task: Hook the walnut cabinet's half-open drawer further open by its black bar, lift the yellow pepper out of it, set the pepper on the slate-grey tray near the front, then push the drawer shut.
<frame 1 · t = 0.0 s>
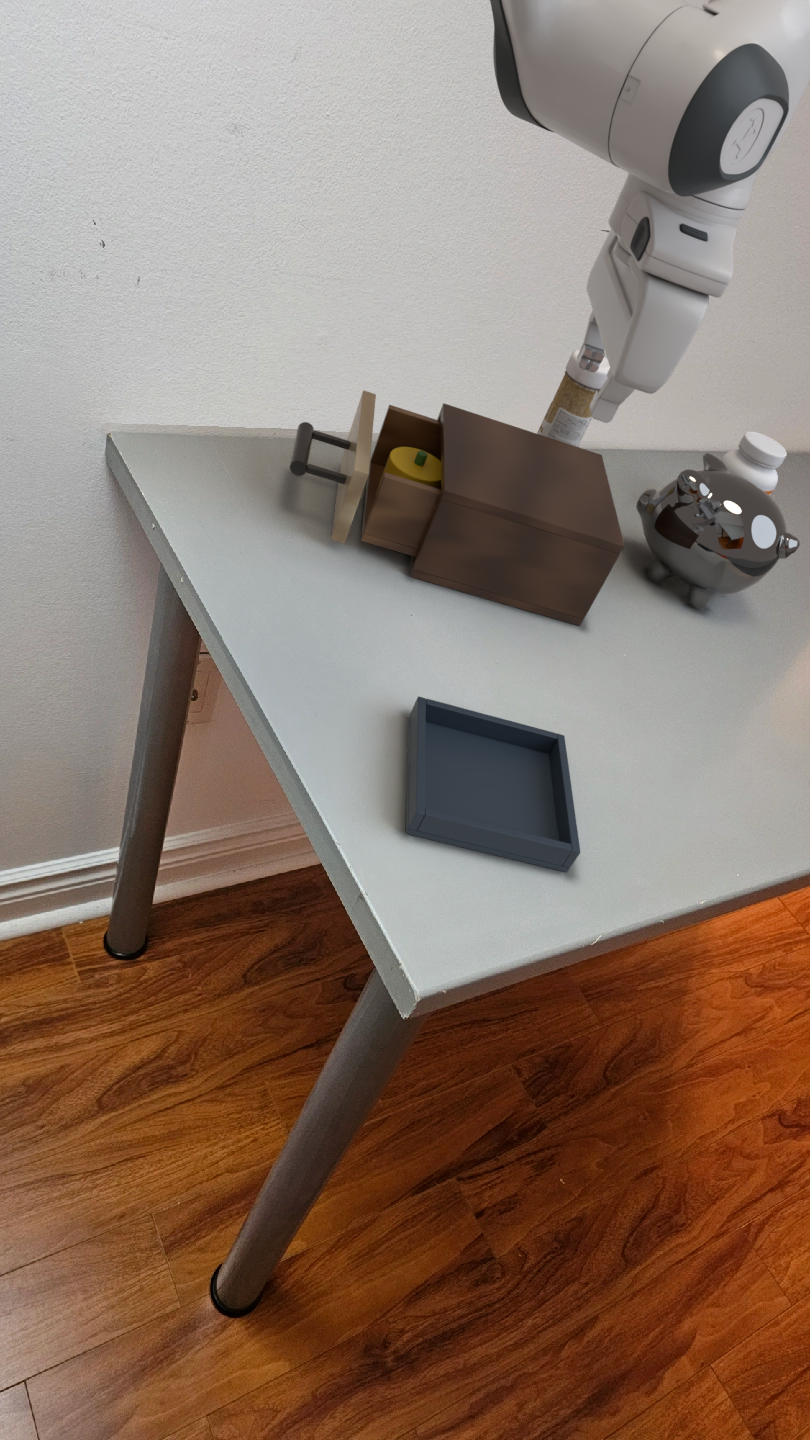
hand: (591, 391, 87), 16 cm above the table, tool pointing down, fingers open, 8 cm apart
cabinet: (492, 552, 96), on the table
drawer: (401, 479, 91), point 4 cm above the table, slide at 6.0 cm, touching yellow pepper
piggy bank: (679, 582, 104), on the table
tray: (484, 791, 72), on the table
sprinkles bottle: (538, 480, 110), on the table
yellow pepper: (403, 504, 93), point 2 cm above the table, touching drawer
pill bottle: (710, 534, 114), on the table
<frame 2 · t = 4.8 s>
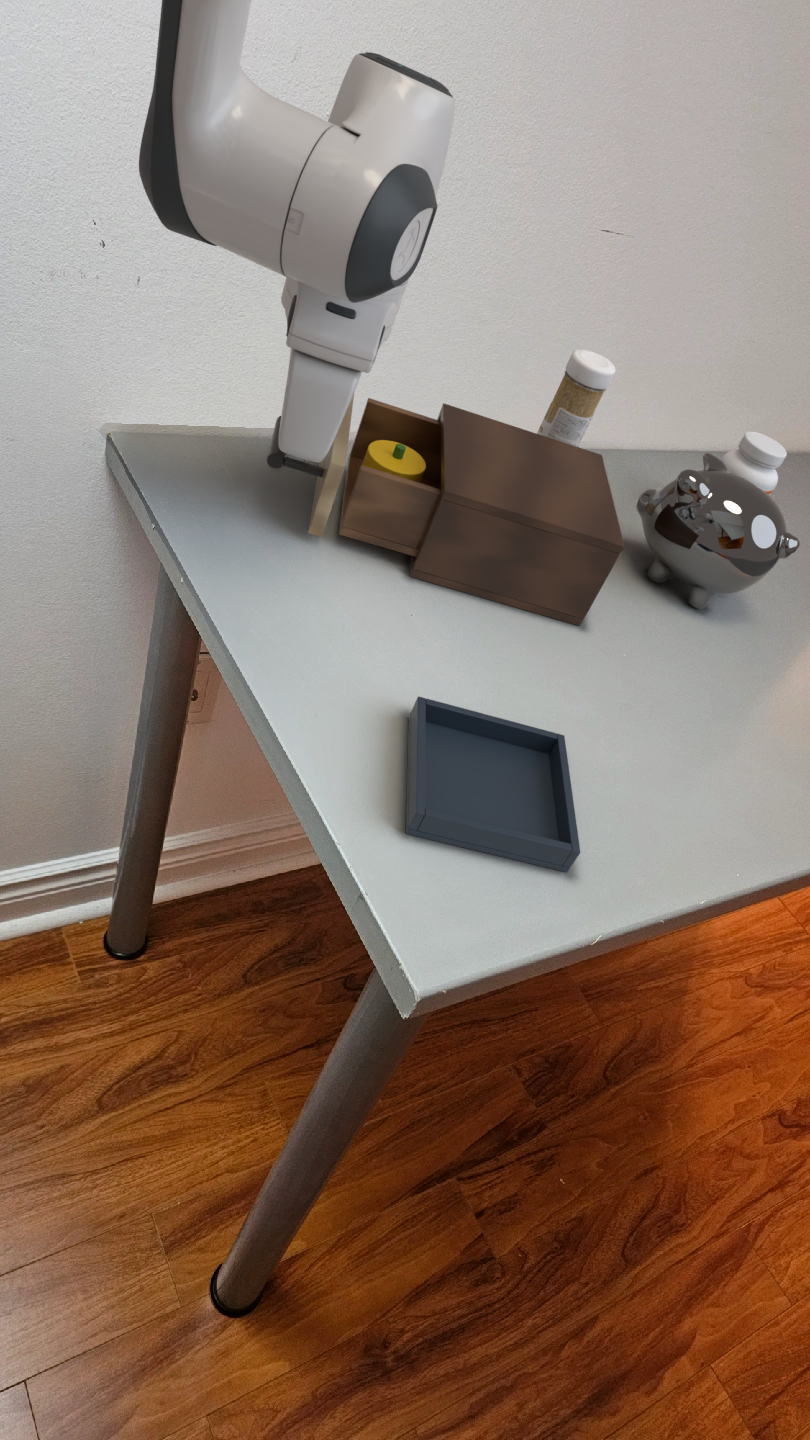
hand: (296, 452, 90), 4 cm above the table, tool pointing down, fingers closed, pressing on drawer
drawer: (380, 472, 91), point 4 cm above the table, slide at 7.9 cm, touching gripper, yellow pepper
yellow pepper: (382, 498, 92), point 2 cm above the table, touching drawer
everything else where it was.
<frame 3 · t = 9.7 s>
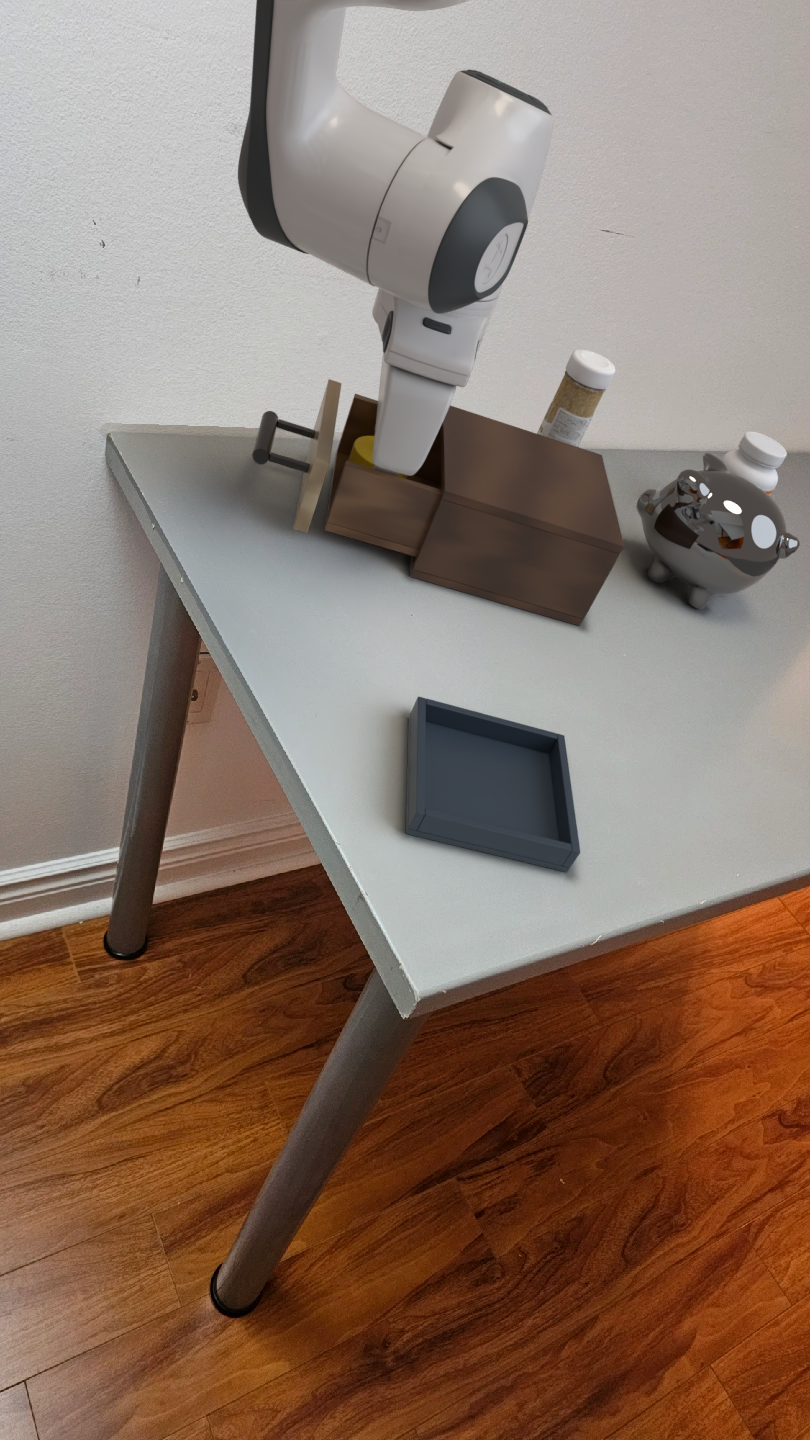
hand: (380, 463, 90), 5 cm above the table, tool pointing down, fingers open, 7 cm apart
drawer: (366, 468, 91), point 4 cm above the table, slide at 9.2 cm, touching gripper, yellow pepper
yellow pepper: (368, 493, 92), point 2 cm above the table, touching drawer
everything else where it was.
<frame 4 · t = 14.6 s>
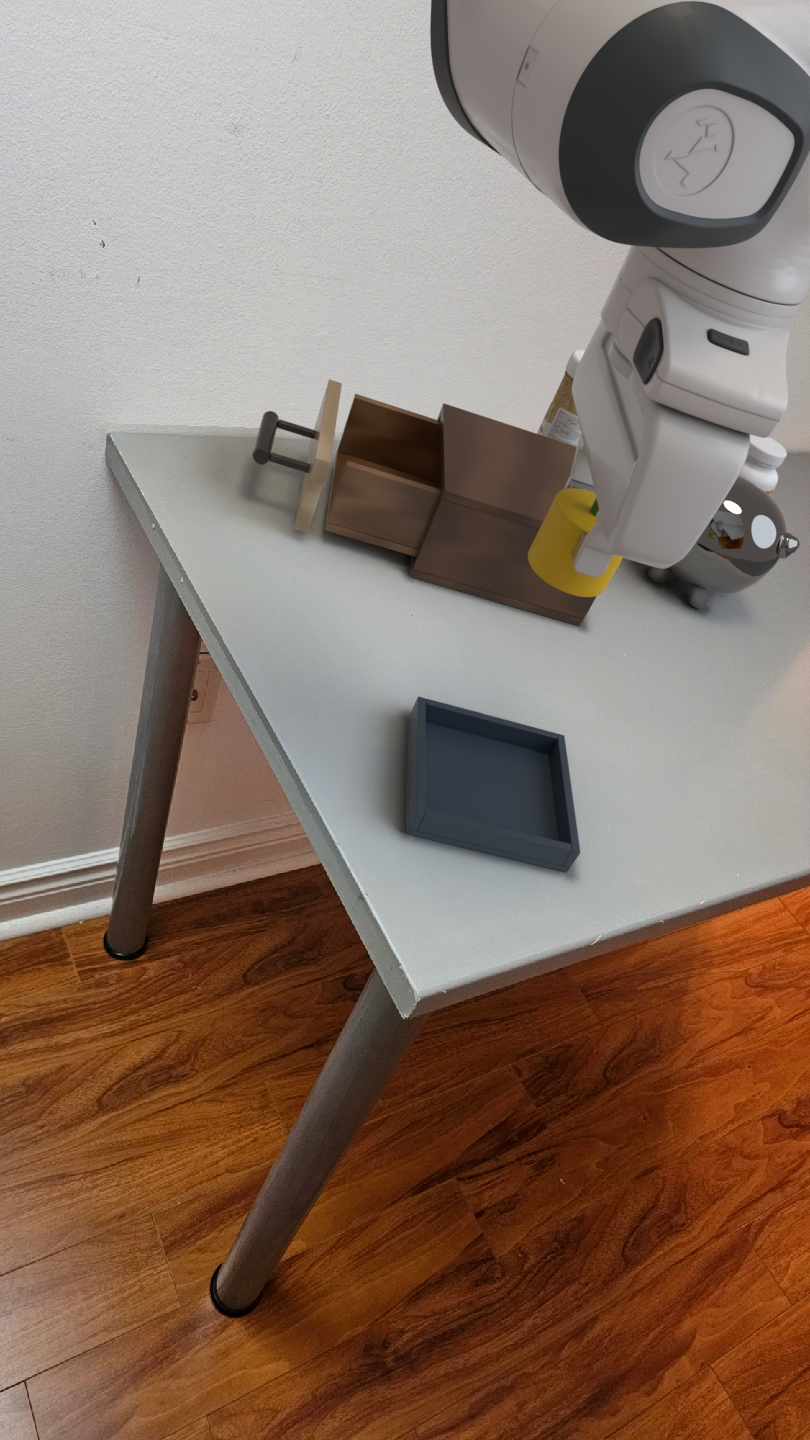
hand: (578, 537, 63), 19 cm above the table, tool pointing down, fingers closed on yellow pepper, 5 cm apart
drawer: (367, 468, 91), point 4 cm above the table, slide at 9.1 cm
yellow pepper: (566, 570, 64), point 16 cm above the table, touching gripper
everything else where it was.
when the fingers open (3 cm above the table, at t = 18.9 s): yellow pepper stays where it is, resting on tray.
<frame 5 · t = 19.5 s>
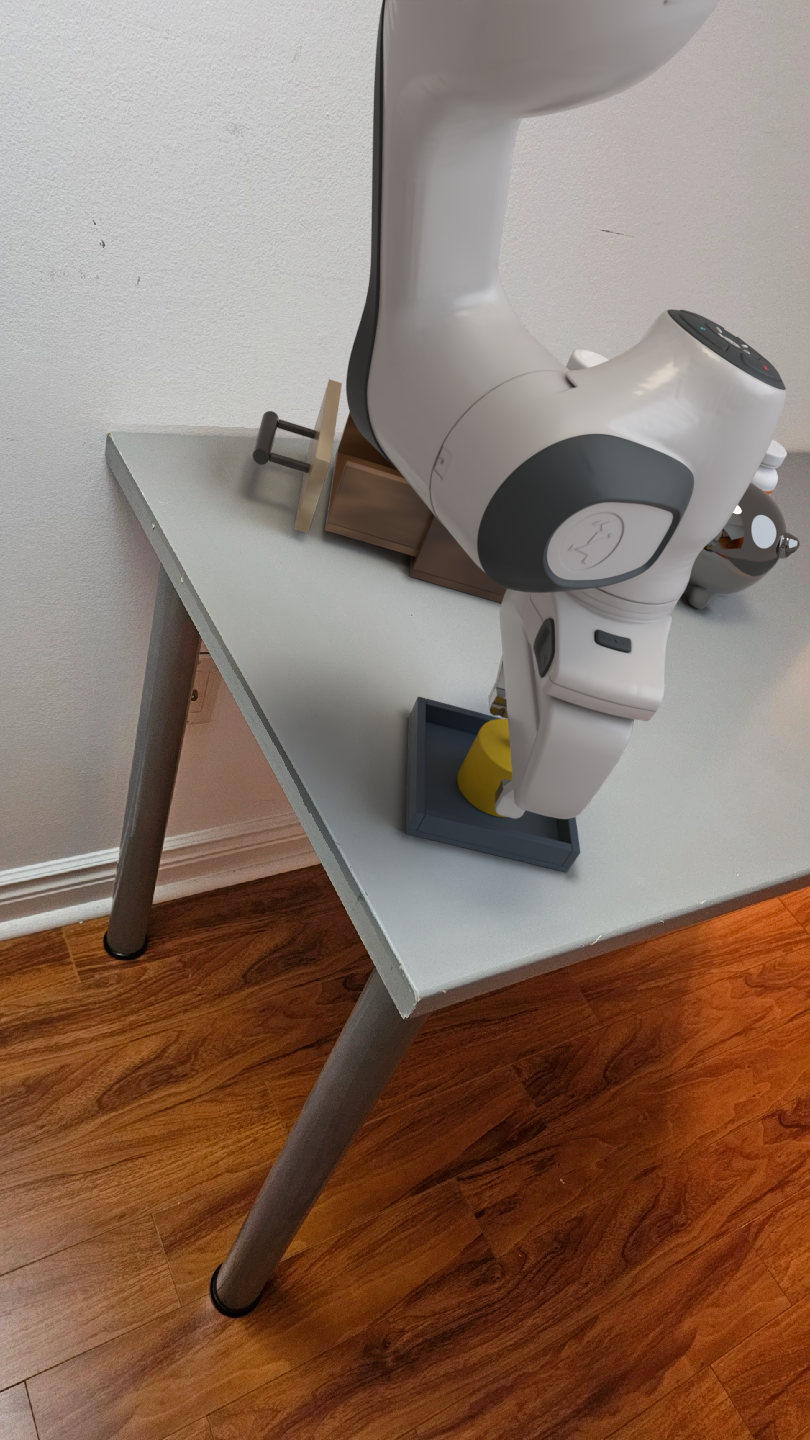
hand: (502, 756, 70), 3 cm above the table, tool pointing down, fingers open, 8 cm apart
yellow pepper: (492, 788, 72), resting on tray
everything else where it was.
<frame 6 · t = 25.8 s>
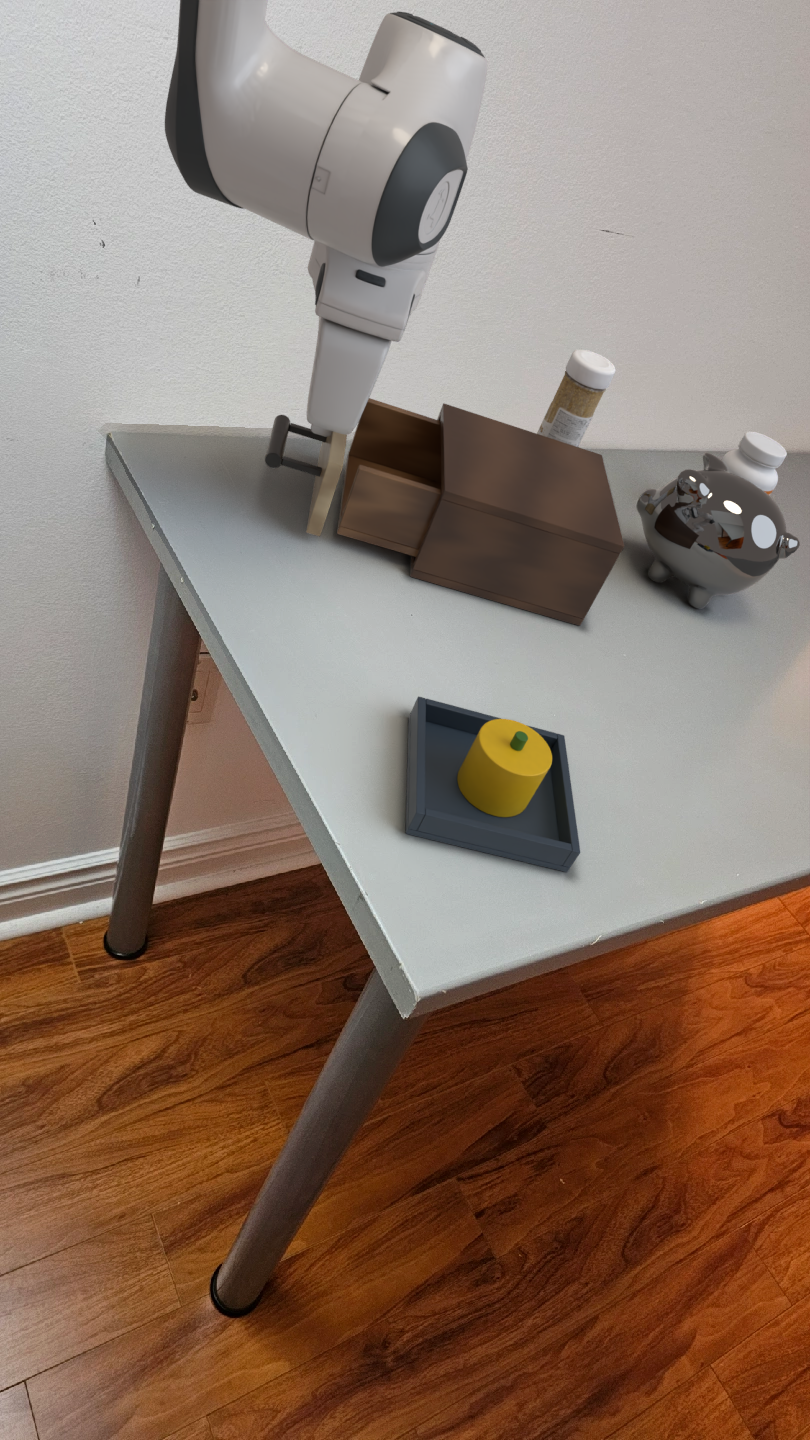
hand: (321, 427, 88), 7 cm above the table, tool pointing down, fingers closed, pressing on drawer
drawer: (378, 471, 91), point 4 cm above the table, slide at 8.1 cm, touching gripper
everything else where it was.
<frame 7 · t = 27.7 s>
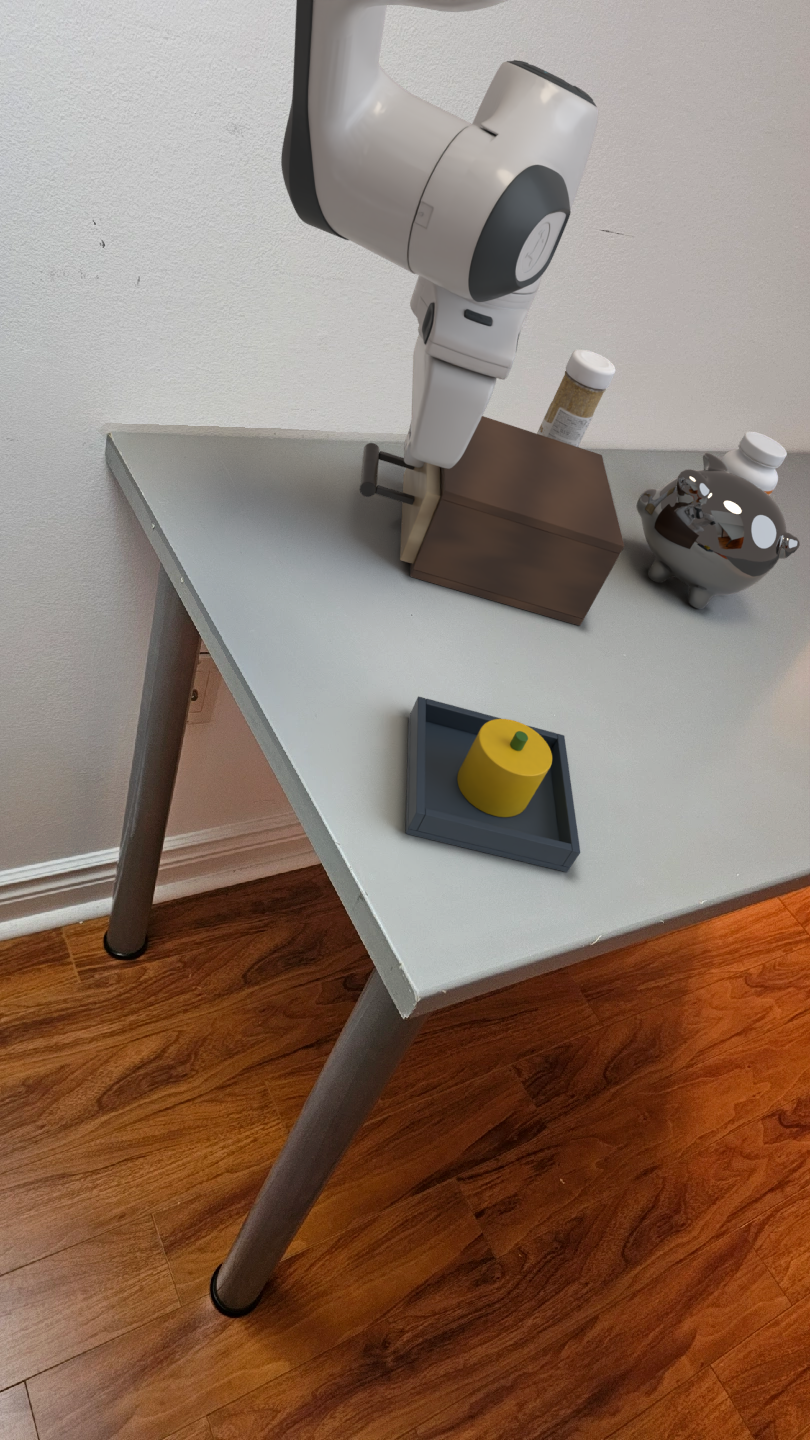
hand: (412, 457, 90), 6 cm above the table, tool pointing down, fingers closed, pressing on drawer
drawer: (467, 499, 92), point 4 cm above the table, slide at 0.0 cm, touching cabinet, gripper
everything else where it was.
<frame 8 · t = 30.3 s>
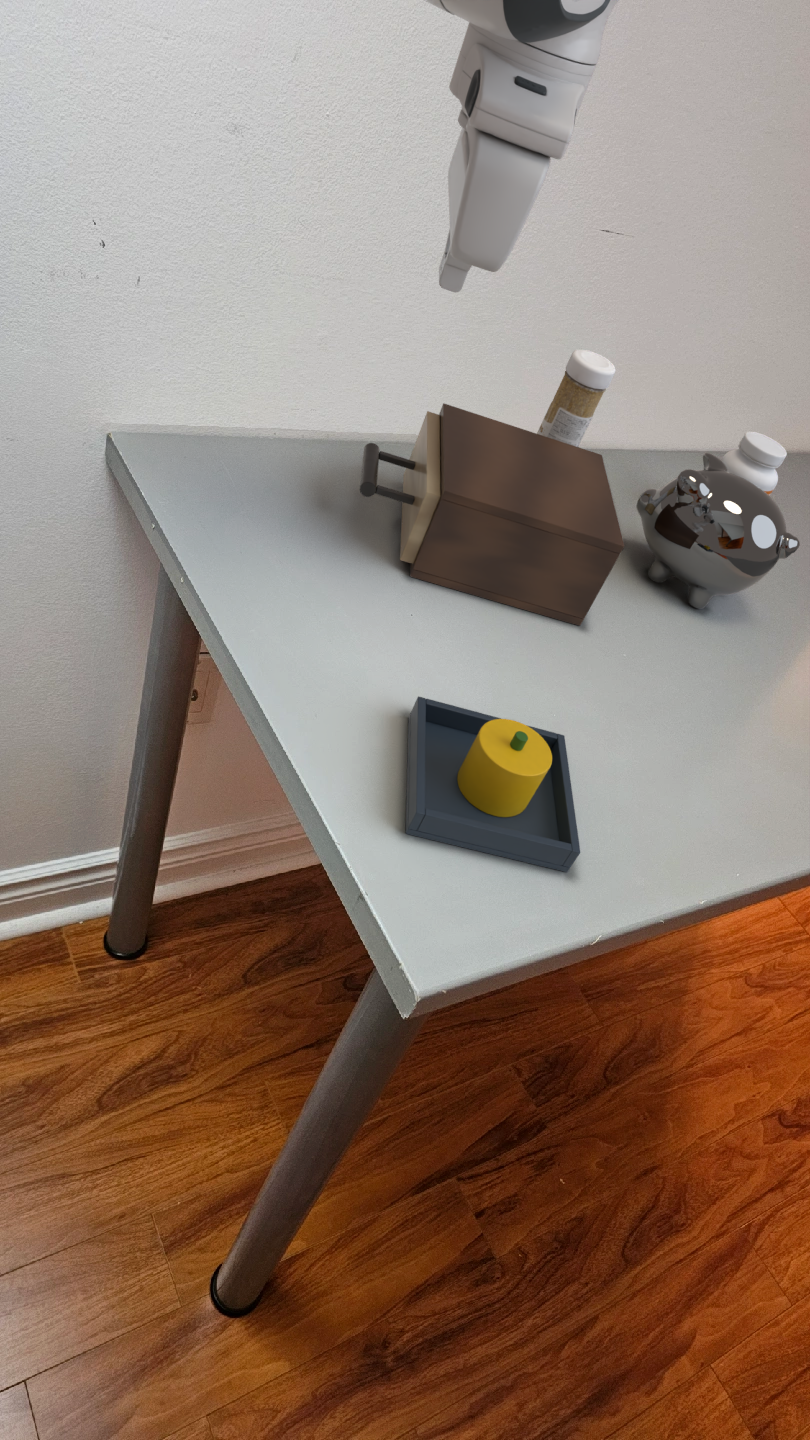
hand: (448, 283, 80), 21 cm above the table, tool pointing down, fingers closed
drawer: (467, 499, 92), point 4 cm above the table, slide at 0.0 cm, touching cabinet
everything else where it was.
at the end: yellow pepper inside the target area in the tray (0.4 cm from its centre), point 0.5 cm above the tray's base; drawer slide at 0.0 cm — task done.
